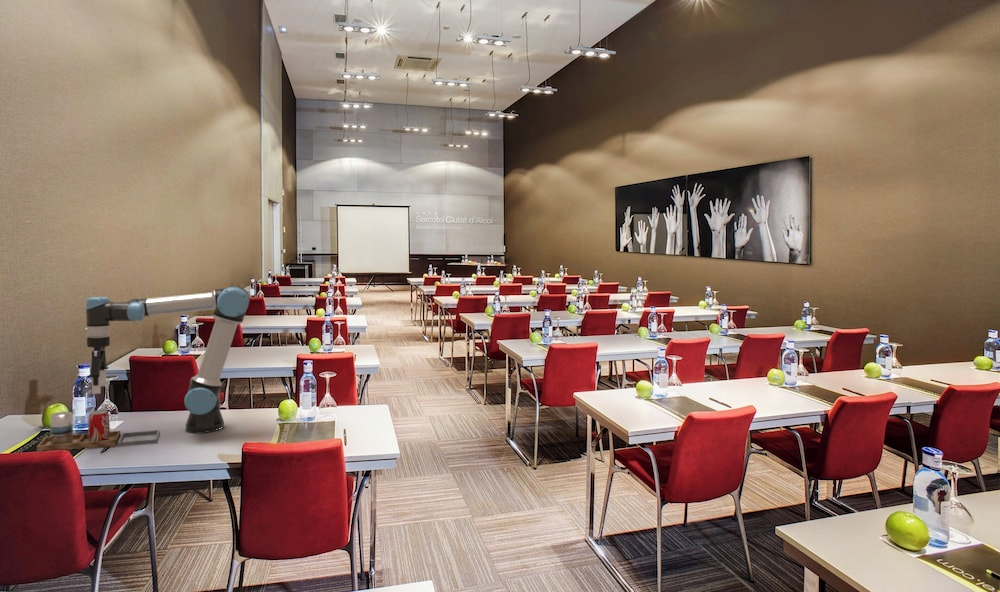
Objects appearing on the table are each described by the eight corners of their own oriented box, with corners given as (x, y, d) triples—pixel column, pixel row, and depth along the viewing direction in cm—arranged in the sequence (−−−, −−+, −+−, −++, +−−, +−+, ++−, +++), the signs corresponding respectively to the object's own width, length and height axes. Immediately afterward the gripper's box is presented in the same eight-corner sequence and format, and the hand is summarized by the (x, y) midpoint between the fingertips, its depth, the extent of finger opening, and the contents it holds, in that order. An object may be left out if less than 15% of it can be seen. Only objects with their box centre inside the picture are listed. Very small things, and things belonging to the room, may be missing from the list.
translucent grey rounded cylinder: (74, 441, 244) (74, 411, 243) (70, 446, 238) (70, 415, 237) (52, 442, 241) (52, 412, 240) (48, 448, 235) (48, 417, 234)
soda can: (99, 445, 240) (99, 414, 239) (83, 443, 242) (83, 413, 241) (113, 439, 247) (113, 410, 246) (98, 438, 248) (98, 408, 248)
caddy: (120, 436, 253) (120, 430, 253) (116, 446, 241) (116, 440, 241) (45, 442, 243) (45, 436, 242) (36, 452, 231) (36, 446, 231)
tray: (159, 433, 259) (159, 430, 259) (157, 443, 247) (157, 439, 247) (122, 436, 254) (122, 432, 254) (117, 446, 241) (117, 442, 241)
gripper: (92, 332, 251) (93, 383, 253) (80, 341, 229) (81, 397, 230) (114, 331, 254) (115, 382, 256) (104, 340, 232) (105, 396, 233)
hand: (99, 389), depth 243 cm, fingers open, 13 cm apart
